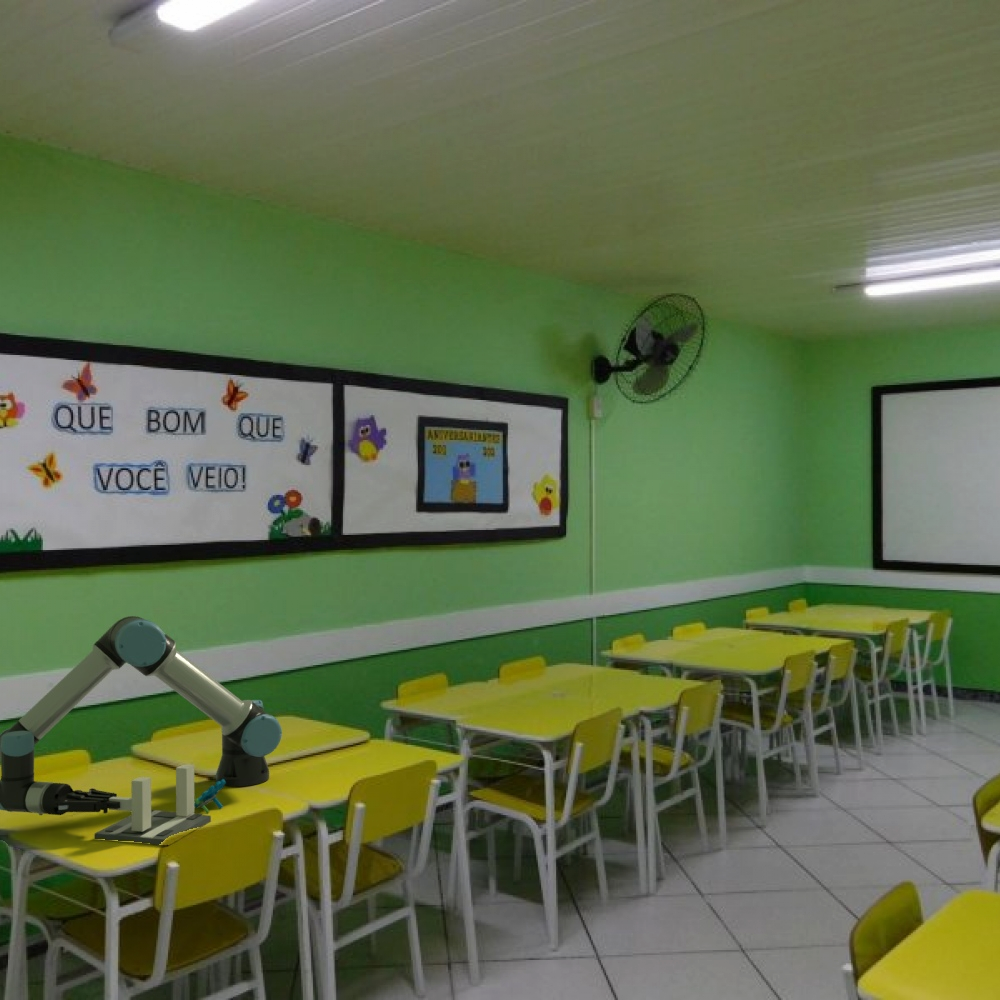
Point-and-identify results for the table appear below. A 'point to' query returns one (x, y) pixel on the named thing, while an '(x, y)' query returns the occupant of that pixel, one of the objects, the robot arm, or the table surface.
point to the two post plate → (163, 816)
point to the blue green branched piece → (210, 796)
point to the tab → (141, 803)
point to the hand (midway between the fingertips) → (134, 804)
